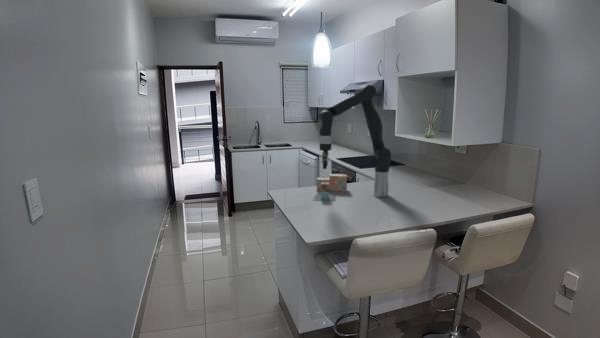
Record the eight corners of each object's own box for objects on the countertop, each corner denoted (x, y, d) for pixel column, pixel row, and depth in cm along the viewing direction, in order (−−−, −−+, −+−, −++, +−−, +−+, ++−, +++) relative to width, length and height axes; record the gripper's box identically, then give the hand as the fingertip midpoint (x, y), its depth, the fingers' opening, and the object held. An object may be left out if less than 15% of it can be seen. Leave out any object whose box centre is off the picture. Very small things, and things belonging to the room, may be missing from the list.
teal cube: (328, 197, 218) (329, 189, 217) (328, 199, 213) (328, 191, 212) (321, 196, 218) (321, 189, 217) (320, 199, 214) (320, 191, 213)
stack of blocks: (316, 192, 233) (316, 175, 231) (317, 189, 240) (317, 173, 237) (346, 193, 231) (347, 176, 228) (346, 190, 237) (347, 174, 234)
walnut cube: (329, 189, 217) (329, 182, 215) (328, 191, 212) (328, 184, 211) (321, 189, 217) (321, 182, 216) (320, 191, 213) (320, 184, 211)
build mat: (336, 196, 222) (336, 195, 221) (334, 203, 208) (334, 201, 208) (315, 195, 224) (315, 194, 223) (313, 202, 210) (313, 200, 210)
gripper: (330, 144, 200) (330, 170, 204) (332, 141, 214) (331, 165, 218) (318, 143, 202) (318, 169, 205) (320, 141, 215) (320, 165, 219)
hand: (325, 167), depth 211 cm, fingers open, 8 cm apart
